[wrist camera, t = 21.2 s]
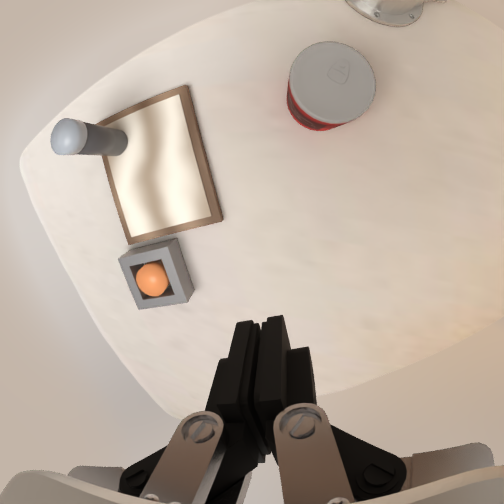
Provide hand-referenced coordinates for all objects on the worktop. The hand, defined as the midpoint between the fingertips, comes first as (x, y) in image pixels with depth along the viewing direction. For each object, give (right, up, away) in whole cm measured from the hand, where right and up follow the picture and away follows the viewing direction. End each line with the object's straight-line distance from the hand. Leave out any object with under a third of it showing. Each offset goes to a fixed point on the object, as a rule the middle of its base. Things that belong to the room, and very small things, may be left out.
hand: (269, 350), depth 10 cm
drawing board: (-13, +15, +25) cm, 32 cm away
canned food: (+7, +22, +21) cm, 31 cm away
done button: (-14, +1, +29) cm, 32 cm away
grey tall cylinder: (-18, +18, +23) cm, 34 cm away
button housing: (-14, +1, +30) cm, 33 cm away
